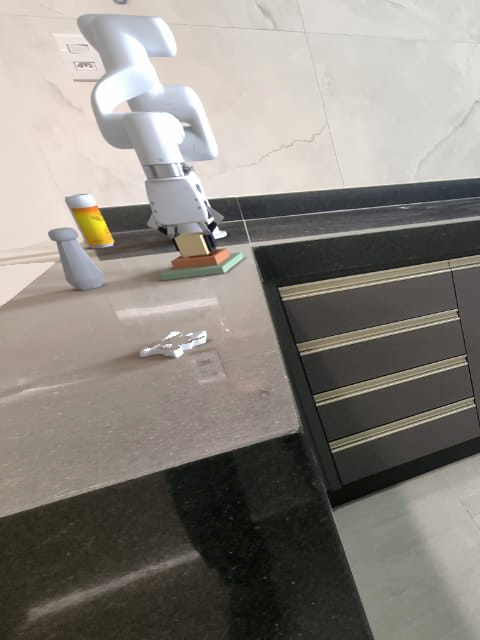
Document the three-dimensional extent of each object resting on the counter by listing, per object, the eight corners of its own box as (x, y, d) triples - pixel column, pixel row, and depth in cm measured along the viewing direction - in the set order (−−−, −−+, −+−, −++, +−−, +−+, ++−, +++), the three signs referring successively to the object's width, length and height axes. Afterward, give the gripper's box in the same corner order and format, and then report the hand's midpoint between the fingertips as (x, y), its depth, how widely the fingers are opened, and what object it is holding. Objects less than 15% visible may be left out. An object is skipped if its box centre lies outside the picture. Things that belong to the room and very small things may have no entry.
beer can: (118, 245, 160) (94, 193, 153) (92, 249, 155) (66, 197, 149) (111, 243, 163) (87, 193, 156) (85, 247, 158) (59, 196, 152)
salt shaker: (85, 291, 114) (53, 231, 108) (64, 291, 115) (32, 231, 110) (114, 283, 119) (85, 225, 114) (94, 283, 120) (65, 225, 115)
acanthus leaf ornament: (176, 339, 86) (172, 328, 85) (216, 338, 86) (211, 328, 85) (134, 358, 79) (128, 347, 78) (176, 358, 79) (171, 346, 78)
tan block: (191, 251, 129) (183, 233, 127) (215, 249, 130) (208, 230, 128) (182, 257, 123) (174, 237, 122) (207, 254, 125) (199, 235, 123)
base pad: (188, 264, 133) (182, 250, 132) (243, 258, 137) (238, 244, 136) (162, 280, 120) (155, 265, 118) (224, 273, 123) (218, 258, 122)
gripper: (216, 168, 125) (244, 244, 133) (127, 174, 119) (162, 253, 127) (205, 170, 118) (235, 251, 126) (111, 177, 113) (149, 260, 121)
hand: (198, 251), depth 127 cm, fingers closed on tan block, 5 cm apart
